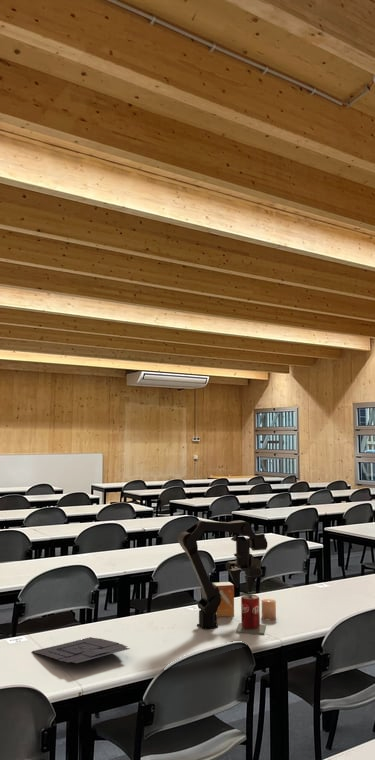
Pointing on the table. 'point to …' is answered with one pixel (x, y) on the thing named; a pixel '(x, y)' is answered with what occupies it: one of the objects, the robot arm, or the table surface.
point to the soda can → (250, 612)
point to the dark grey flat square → (82, 650)
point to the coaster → (258, 631)
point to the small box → (225, 599)
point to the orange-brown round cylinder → (268, 609)
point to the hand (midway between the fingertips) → (243, 589)
